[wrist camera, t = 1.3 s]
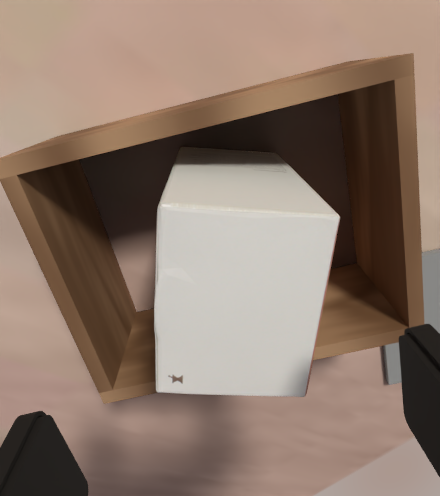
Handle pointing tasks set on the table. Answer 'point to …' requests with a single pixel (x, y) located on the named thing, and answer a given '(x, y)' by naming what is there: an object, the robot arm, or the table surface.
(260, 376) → the small box
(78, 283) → the wooden cubby frame
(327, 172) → the table surface
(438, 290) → the pad
